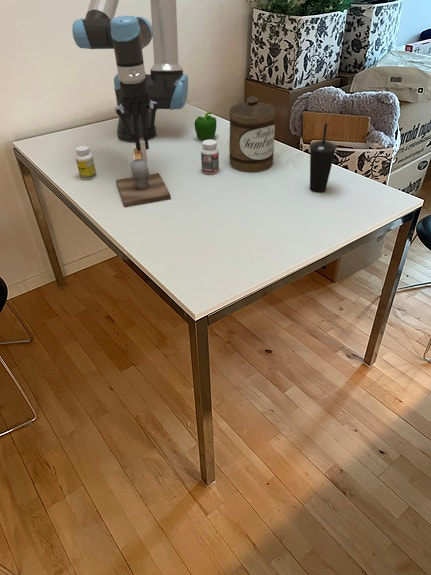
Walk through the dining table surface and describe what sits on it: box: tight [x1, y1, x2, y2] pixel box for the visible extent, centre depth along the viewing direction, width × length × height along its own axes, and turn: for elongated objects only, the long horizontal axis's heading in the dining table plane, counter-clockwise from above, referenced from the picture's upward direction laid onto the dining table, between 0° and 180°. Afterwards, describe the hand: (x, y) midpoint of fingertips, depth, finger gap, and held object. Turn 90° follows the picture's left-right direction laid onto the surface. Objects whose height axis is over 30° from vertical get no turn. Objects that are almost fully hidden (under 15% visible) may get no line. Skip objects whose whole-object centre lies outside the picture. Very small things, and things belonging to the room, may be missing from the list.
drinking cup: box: [309, 123, 338, 194], centre depth 133 cm, size 8×8×20 cm
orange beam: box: [129, 147, 150, 179], centre depth 140 cm, size 14×5×4 cm, turn 10°
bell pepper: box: [194, 110, 217, 142], centre depth 170 cm, size 8×8×10 cm
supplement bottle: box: [75, 145, 97, 180], centre depth 148 cm, size 5×5×10 cm
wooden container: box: [228, 95, 276, 173], centre depth 148 cm, size 15×15×22 cm
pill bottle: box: [200, 139, 220, 175], centre depth 148 cm, size 6×6×10 cm
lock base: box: [115, 172, 172, 208], centre depth 140 cm, size 16×14×5 cm
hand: (144, 159), depth 143 cm, fingers closed
